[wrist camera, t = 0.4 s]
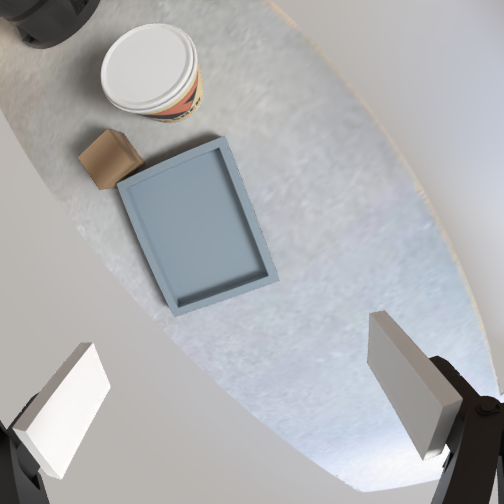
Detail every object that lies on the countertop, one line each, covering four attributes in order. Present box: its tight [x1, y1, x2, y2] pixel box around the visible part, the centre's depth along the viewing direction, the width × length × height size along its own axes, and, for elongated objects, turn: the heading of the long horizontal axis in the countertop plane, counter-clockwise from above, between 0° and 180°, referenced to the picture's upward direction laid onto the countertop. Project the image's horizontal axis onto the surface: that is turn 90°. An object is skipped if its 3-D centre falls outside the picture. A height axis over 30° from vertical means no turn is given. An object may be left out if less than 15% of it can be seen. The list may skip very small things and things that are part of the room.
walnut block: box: [78, 129, 144, 190], centre depth 33 cm, size 5×5×5 cm
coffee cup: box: [101, 23, 204, 123], centre depth 28 cm, size 9×9×12 cm
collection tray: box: [117, 136, 279, 317], centre depth 37 cm, size 18×14×2 cm
